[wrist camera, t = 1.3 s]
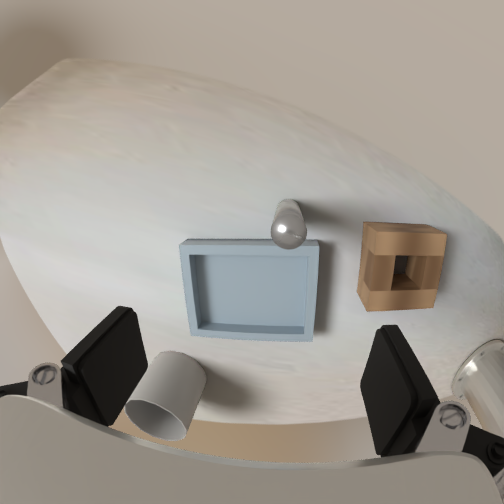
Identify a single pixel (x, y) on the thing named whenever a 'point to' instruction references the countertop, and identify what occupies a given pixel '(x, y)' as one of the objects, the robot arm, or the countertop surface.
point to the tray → (250, 289)
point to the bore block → (383, 260)
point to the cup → (167, 396)
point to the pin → (288, 225)
